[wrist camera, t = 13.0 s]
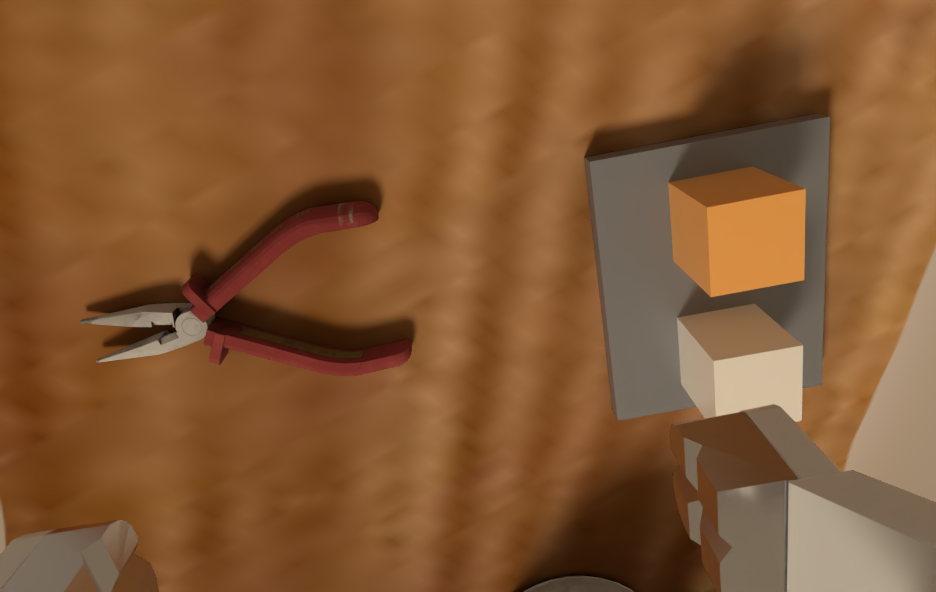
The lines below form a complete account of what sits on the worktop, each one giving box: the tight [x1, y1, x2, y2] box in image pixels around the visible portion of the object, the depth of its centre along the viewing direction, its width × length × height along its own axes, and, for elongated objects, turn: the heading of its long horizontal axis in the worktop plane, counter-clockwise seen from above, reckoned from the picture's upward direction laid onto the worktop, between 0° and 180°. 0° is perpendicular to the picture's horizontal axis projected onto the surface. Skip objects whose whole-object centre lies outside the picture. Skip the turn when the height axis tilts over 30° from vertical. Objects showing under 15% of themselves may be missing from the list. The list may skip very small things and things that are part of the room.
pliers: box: [80, 201, 412, 376], centre depth 41 cm, size 12×20×3 cm, turn 101°
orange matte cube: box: [668, 166, 806, 297], centre depth 36 cm, size 5×5×6 cm
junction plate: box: [584, 114, 830, 422], centre depth 39 cm, size 18×14×8 cm
